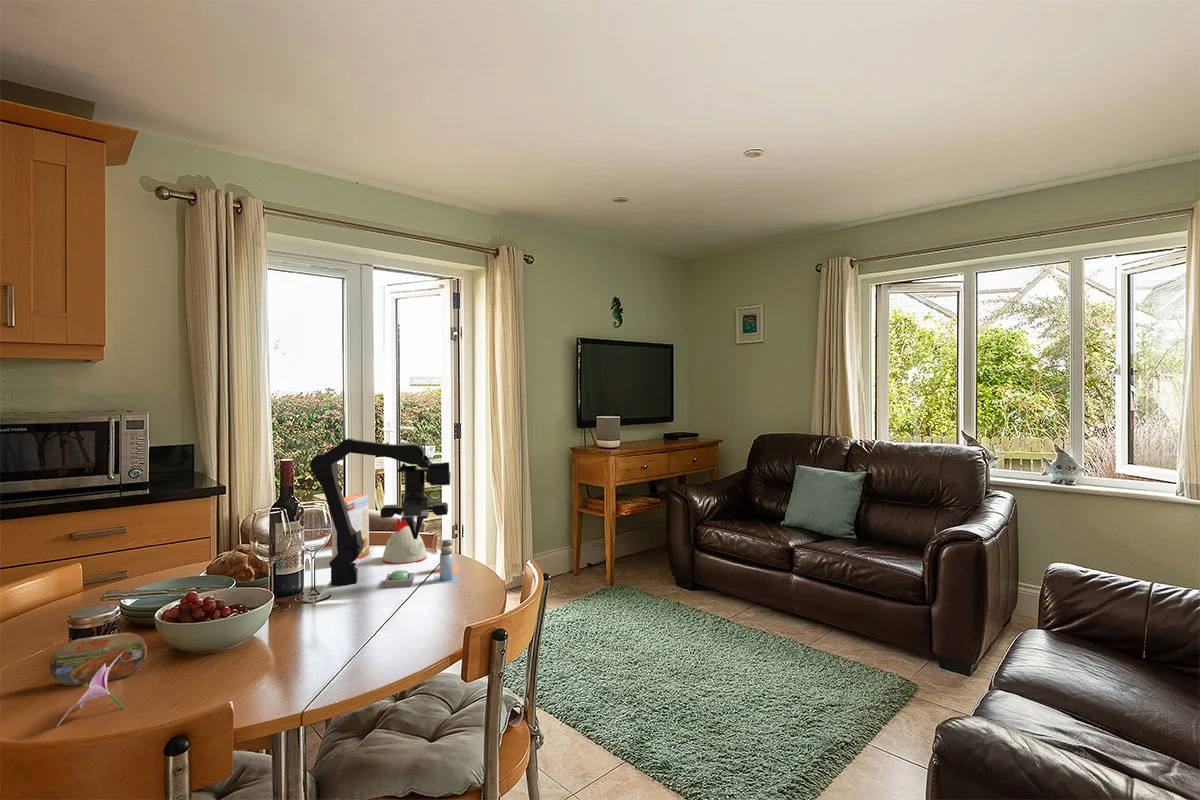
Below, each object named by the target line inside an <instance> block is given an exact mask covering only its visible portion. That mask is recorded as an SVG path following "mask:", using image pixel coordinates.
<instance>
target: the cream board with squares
mask: <svg viewBox="0 0 1200 800" xmlns="http://www.w3.org/2000/svg"><path fill="white" fill-rule="evenodd" d="M453 573H459V565H453V570H452V574H453ZM434 574H435V576H434V579H433V584H434V585H435V584H453V583H459V582H458V581H459V579H458V578H459V575H458V574H456V575H454V574H453V575H452V580H450V581H440V575H439V576H438V575H437V576H436V574H440V566H435V573H434ZM414 580H415V572H408V579H406V580H391V573H388V574H387V575H386V578H385V579H384V589H394V588H409V587H413V584H414Z"/></svg>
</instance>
